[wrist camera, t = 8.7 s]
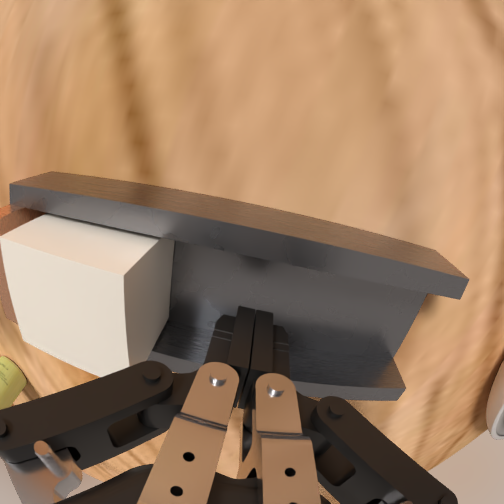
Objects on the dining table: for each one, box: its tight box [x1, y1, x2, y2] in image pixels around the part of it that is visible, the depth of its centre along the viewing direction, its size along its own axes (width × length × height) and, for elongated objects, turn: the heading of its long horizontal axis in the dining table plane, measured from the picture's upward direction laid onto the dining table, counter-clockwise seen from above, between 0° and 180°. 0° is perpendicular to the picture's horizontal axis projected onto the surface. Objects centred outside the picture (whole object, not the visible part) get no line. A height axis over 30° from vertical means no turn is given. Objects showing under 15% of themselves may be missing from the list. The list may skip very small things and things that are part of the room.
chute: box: [0, 172, 469, 401], centre depth 14 cm, size 25×9×6 cm, turn 79°
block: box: [0, 213, 175, 377], centre depth 13 cm, size 7×6×6 cm
